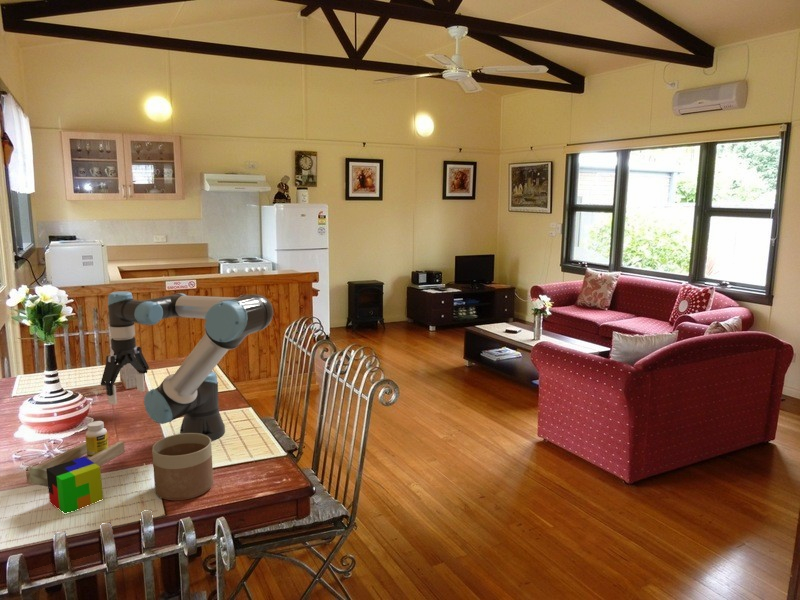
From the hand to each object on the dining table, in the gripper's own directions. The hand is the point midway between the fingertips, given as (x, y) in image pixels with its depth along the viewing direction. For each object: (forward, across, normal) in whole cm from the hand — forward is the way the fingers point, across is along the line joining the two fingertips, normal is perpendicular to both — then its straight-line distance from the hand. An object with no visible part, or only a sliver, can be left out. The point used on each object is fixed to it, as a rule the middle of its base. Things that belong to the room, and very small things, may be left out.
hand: (127, 397), depth 204 cm
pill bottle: (+15, +15, 0) cm, 21 cm away
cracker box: (+15, -47, -41) cm, 64 cm away
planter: (+15, +25, +40) cm, 50 cm away
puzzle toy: (+15, +40, +16) cm, 46 cm away
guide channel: (+15, +23, 0) cm, 27 cm away
